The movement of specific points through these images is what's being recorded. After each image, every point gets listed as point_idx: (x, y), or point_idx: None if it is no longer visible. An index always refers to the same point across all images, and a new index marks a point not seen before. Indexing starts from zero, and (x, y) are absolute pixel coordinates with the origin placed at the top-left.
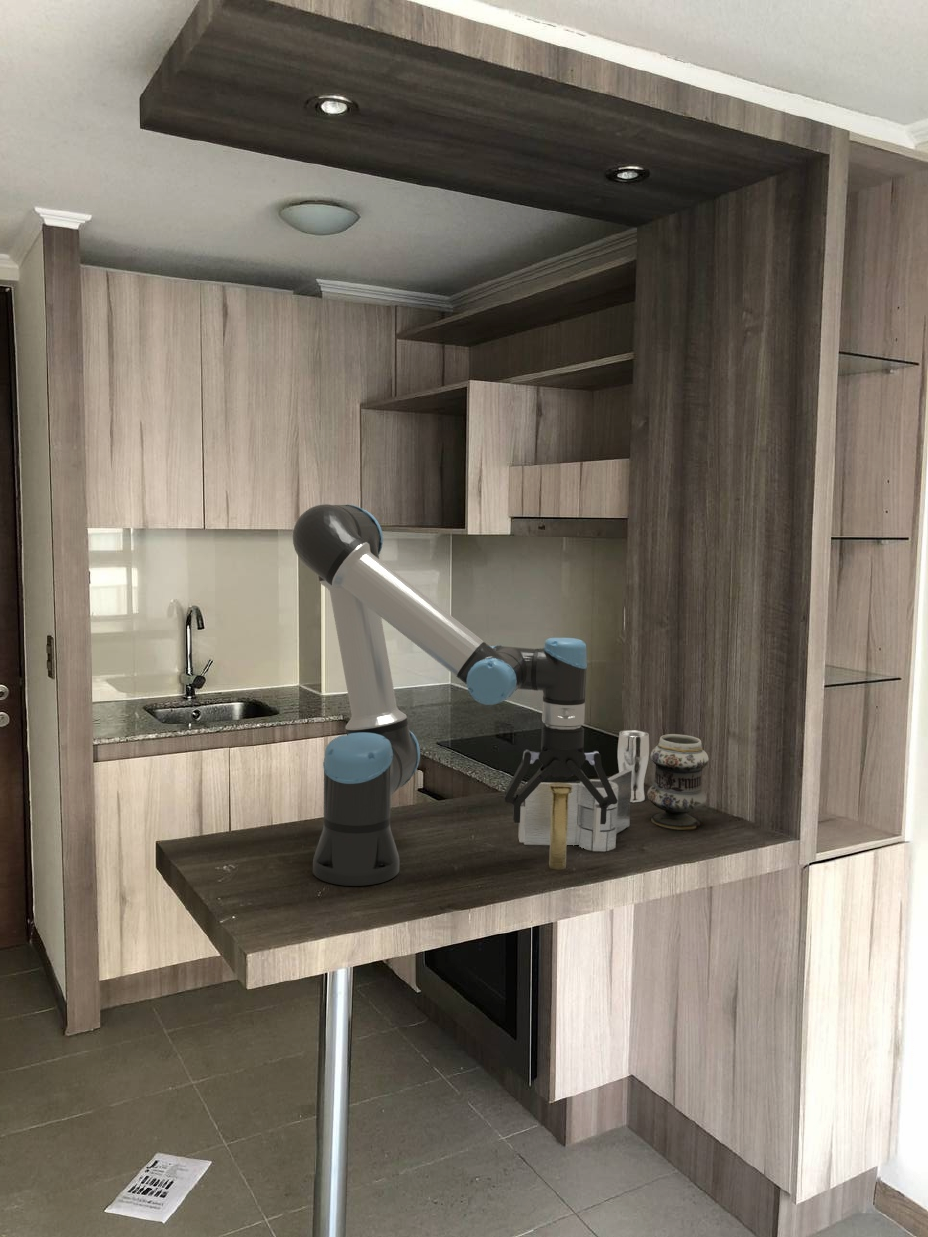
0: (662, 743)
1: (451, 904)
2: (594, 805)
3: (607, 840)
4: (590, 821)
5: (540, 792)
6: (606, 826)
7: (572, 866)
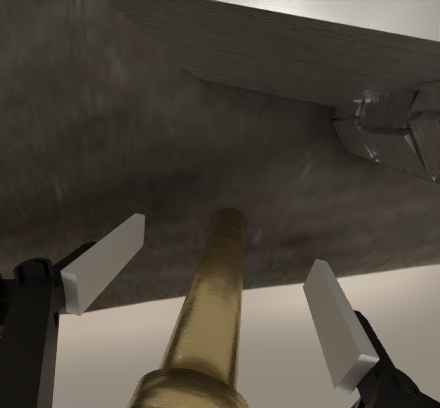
0: None
1: None
2: (356, 351)
3: None
4: (389, 154)
5: (205, 26)
6: None
7: (259, 226)
